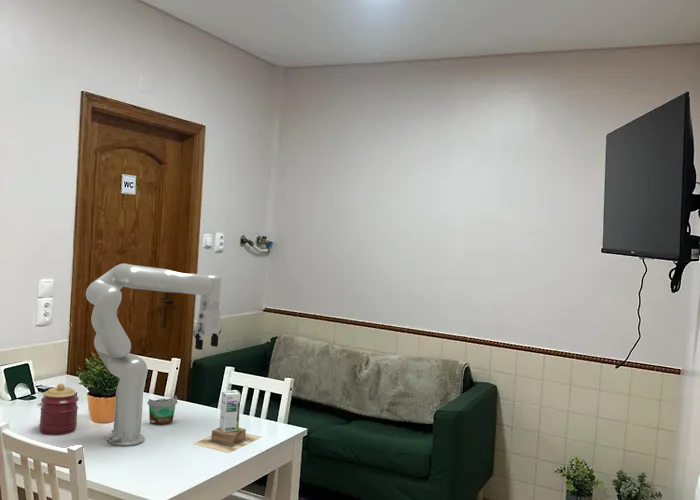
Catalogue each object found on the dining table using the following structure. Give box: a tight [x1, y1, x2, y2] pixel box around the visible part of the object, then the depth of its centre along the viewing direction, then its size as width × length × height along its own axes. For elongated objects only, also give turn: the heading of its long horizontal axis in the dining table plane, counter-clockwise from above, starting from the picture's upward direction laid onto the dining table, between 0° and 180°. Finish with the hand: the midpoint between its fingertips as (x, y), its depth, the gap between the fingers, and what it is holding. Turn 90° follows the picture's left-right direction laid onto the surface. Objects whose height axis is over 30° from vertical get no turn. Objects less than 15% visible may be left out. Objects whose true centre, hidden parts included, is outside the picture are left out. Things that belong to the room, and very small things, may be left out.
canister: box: [38, 383, 79, 436], centre depth 242 cm, size 13×13×18 cm
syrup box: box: [219, 389, 242, 432], centre depth 242 cm, size 6×6×14 cm
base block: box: [211, 426, 247, 446], centre depth 242 cm, size 9×9×4 cm
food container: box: [147, 395, 178, 426], centre depth 260 cm, size 12×6×10 cm, turn 131°
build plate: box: [192, 433, 262, 454], centre depth 242 cm, size 22×16×2 cm
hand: (206, 347), depth 258 cm, fingers open, 9 cm apart
